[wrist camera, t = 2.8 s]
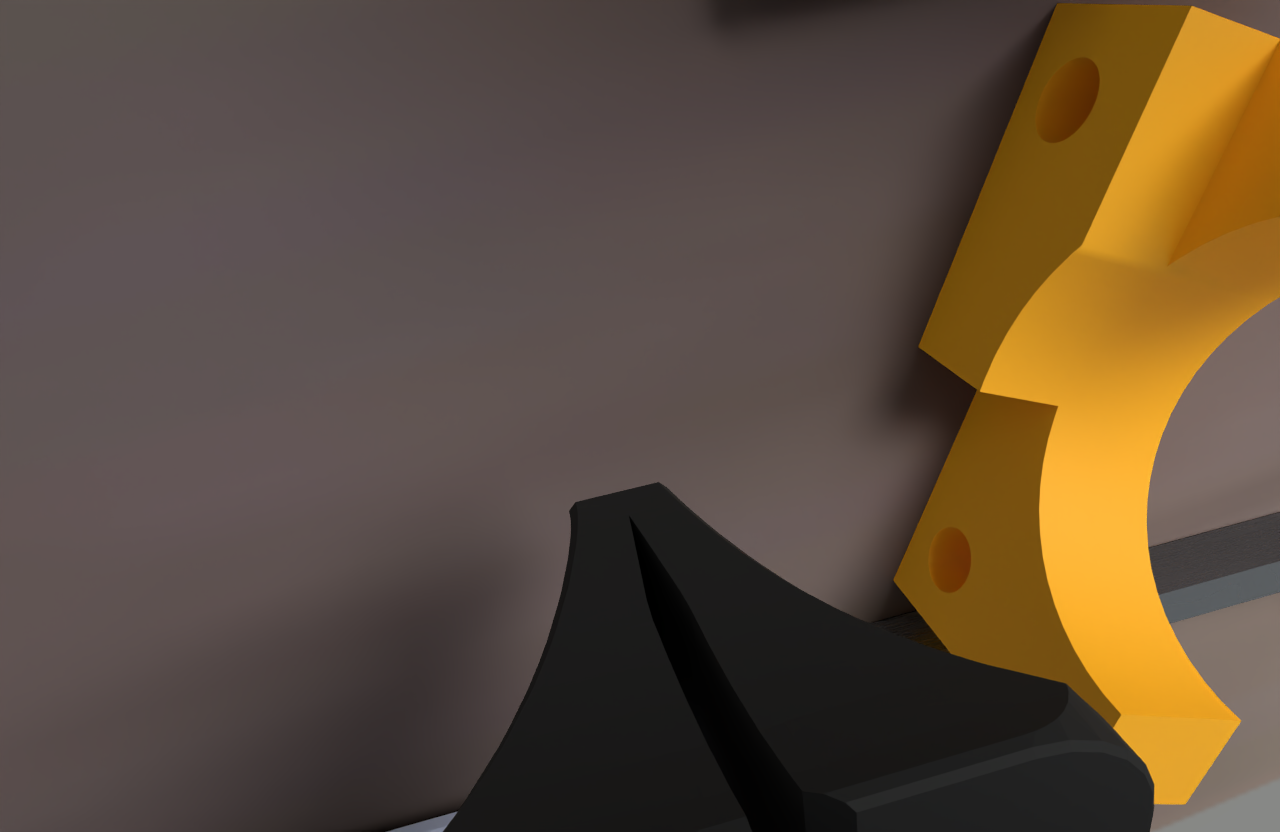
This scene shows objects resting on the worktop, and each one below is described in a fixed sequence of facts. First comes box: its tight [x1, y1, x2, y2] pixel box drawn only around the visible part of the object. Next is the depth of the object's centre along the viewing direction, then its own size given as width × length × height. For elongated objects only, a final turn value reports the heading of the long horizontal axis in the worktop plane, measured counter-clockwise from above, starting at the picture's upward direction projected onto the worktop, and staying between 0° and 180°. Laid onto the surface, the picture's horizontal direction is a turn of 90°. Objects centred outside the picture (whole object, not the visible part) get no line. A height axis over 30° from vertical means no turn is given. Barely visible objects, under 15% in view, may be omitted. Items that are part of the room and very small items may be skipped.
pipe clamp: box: [893, 3, 1280, 804], centre depth 15 cm, size 12×4×6 cm, turn 165°
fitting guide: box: [871, 512, 1280, 654], centre depth 17 cm, size 16×17×2 cm
